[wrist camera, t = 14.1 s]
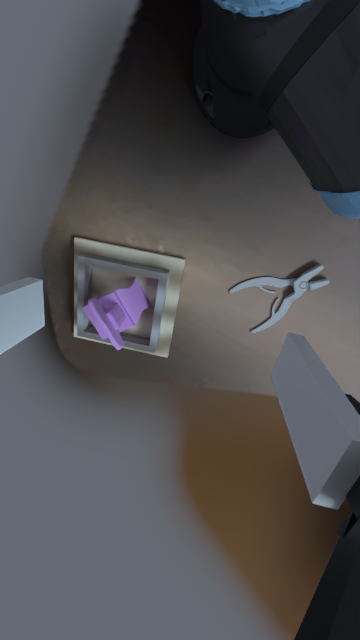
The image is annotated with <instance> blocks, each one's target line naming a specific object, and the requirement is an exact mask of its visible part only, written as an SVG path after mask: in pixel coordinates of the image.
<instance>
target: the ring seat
mask: <svg viewBox="0 0 360 640" xmlns="http://www.w3.org/2000/svg"><path fill="white" fill-rule="evenodd" d="M185 261H186V259H183V258H179V257H174V256H169V255H164V254H159V253H154V252H149V251H144V250H139V249H134V248H129V247H124V246H119V245H114V244H109V243H104V242H99V241H94V240H90V239H85V238H80V237H74V337H78V338H82V339H87V340H91V341H96V342H100V343H105V344H109V345H113V344H112V343H111V341H110V340H109V338H106V339H104V340H102V338H101V337H100V335H99V333H98V332H97V330H96V328H95V327H94V325H93V324H92V322H91V321H90V319H89V318H88V317H87V315H86V314H85V312H84V311H83V309H82V308H83V307H84V306H85V305H88V300H90V299H92V298H96V299H97V300H98V298H99V296H100V295H102V297H104V296H106V295H108V294H110V293H112V292H113V291H115V290H117V289H127V288H129V287H130V286H131V284H132V283H133V280H134V278H137V280H138V281H139V283H140V285H141V287H142V289H143V290H144V292H145V294H146V296H147V297H148V299H149V301H150V303H151V305H152V308H147V309H144V310H143V311H142V313H141V315H140V318H139V321H138V323H136V324H135V325H134V326H133V327H131V328H129V329H127V330H124V331H122V332H119V333H120V336H121V338H122V340H123V343H124V345H123V347H122V348H127V349H131V350H136V351H140V352H144V353H149V354H153V355H158V356H162V357H166V358H168V354H169V349H170V343H171V338H172V332H173V327H174V321H175V316H176V310H177V305H178V299H179V294H180V288H181V283H182V277H183V272H184V266H185Z"/></svg>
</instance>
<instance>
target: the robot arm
mask: <svg viewBox="0 0 360 640" xmlns="http://www.w3.org/2000/svg"><path fill="white" fill-rule="evenodd" d="M200 3H201V15H202V24H201V26H200V29H199V31H198V35H197V38H196V42H195V47H194V54H193V81H194V87H195V92H196V97H197V100H198V103H199V105H200V108H201V110H202V112H203V114H204V115H205V117H206V118H207V119H208V121H209V122H210V123H211V124H212V125H213V126H214V127H215V128H217V129H218V130H219V131H221V132H223V133H225V134H227V135H230V136H233V137H239V138H248V137H254V136H258V135H261V134H263V133H265V132H267V131H269V130H271V129H273V128H274V127H275V129H276V130H277V132H278V133H279V135H280V136H281V138H282V139H283V141H284V142H285V144H286V145H287V147H288V148H289V150H290V151H291V153H292V154H293V156H294V157H295V159H296V160H297V162H298V163H299V165H300V166H301V168H302V169H303V171H304V172H305V174H306V175H307V177H308V178H309V180H310V186H311V188H312V190H313V191H314V192H316V193H317V194H319V195H320V196H321V198H322V199H323V200H324V202H325V203H326V204H327V206H328V207H329V208H330V210H331V211H332V212H334V213H335V214H338V215H339V216H342V217H345V218H355V219H357V218H360V0H200ZM43 326H45V321H44V301H43V281H42V280H40V279H36V278H31V277H28V278H24V279H21V280H18V281H15V282H12V283H9V284H6V285H3V286H0V354H2V353H3V352H5V351H6V350H8V349H10V348H11V347H13V346H14V345H16V344H17V343H19V342H20V341H22V340H23V339H25V338H27V337H28V336H30V335H31V334H33V333H34V332H36V331H37V330H39V329H40V328H42V327H43ZM271 379H272V382H273V385H274V388H275V391H276V394H277V397H278V400H279V403H280V406H281V409H282V412H283V415H284V418H285V421H286V424H287V427H288V430H289V433H290V436H291V440H292V443H293V446H294V448H295V452H296V455H297V458H298V461H299V464H300V467H301V470H302V473H303V476H304V479H305V482H306V485H307V488H308V491H309V494H310V498H311V500H312V503H313V504H317V505H321V506H325V507H329V508H333V509H338V508H339V507H340V505H341V504H342V503H343V501H344V500H345V498H346V497H347V499H348V501H349V504H350V506H351V508H352V510H353V511H352V513H351V514H350V516H349V517H348V518H347V519H346V521H345V522H344V523H343V525H342V526H341V528H340V529H339V530H338V531H337V533H338V534H339V535H340V537H339V539H338V541H337V544H336V546H335V548H334V550H333V552H332V555H331V557H330V559H329V562H328V564H327V566H326V568H325V571H324V573H323V575H322V577H321V580H320V582H319V584H318V586H317V589H316V591H315V593H314V596H313V598H312V600H311V602H310V605H309V607H308V609H307V611H306V614H305V616H304V618H303V621H302V623H301V625H300V628H299V630H298V632H297V634H296V637H295V639H294V640H360V403H359V402H358V401H357V400H356V399H354V398H353V397H352V396H351V395H348V394H344V393H343V391H342V390H341V388H340V387H339V385H338V384H337V383H336V381H335V380H334V378H333V377H332V376H331V374H330V373H329V371H328V370H327V368H326V367H325V366H324V364H323V363H322V361H321V360H320V359H319V357H318V356H317V354H316V353H315V351H314V350H313V349H312V347H311V346H310V344H309V343H308V342H307V340H306V339H305V337H304V336H302V335H297V334H293V333H288V334H287V337H286V339H285V342H284V344H283V347H282V350H281V352H280V355H279V357H278V360H277V362H276V365H275V368H274V370H273V373H272V375H271Z"/></svg>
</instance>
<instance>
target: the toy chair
mask: <svg viewBox="0 0 360 640" xmlns="http://www.w3.org/2000/svg"><path fill="white" fill-rule="evenodd" d="M147 308H152V305H151V303H150V301H149V299H148V297H147V296H146V294H145V292H144V290H143V289H142V287H141V285H140V283H139V281H138V280H137V278H134V280H133V283H132V284H131V286H130V287H129V288H127V289H117V290H115V291H113V292H112V293H110V294H108V295H106V296H104V297H102V295H100V296H99V298H98V300H97V299H96V298H92V299H90V300H88V305H85V306H84V307H83V308H82V309H83V311H84V312H85V314H86V315H87V317H88V318H89V319H90V321H91V322H92V324H93V325H94V327H95V328H96V330H97V332H98V333H99V335H100V337H101V338H102V340H104V339H106V338H109V340H110V341H111V343H112V344H113V346H114V347H115V348H116V349H117V350H120V349H121V348H122V347H123V345H124V343H123V340H122V338H121V336H120V333H119V332H122V331H124V330H127V329H129V328H131V327H133V326H134V325H135V324H136V323H138V321H139V318H140V315H141V313H142V311H143V310H144V309H147Z"/></svg>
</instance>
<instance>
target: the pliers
mask: <svg viewBox="0 0 360 640" xmlns="http://www.w3.org/2000/svg"><path fill="white" fill-rule="evenodd" d="M323 268H324V267H323V266H322V265H321V264H318V265H316V266H314V267H312V268H311V269H309V270H307V271H305V272H303V273H302V274H301V275H300V276H299V277H298V278H297V279H295V278H291V279H278V278H274V277H259V278H254V279H250V280H247V281H245V282H242V283H240V284H238V285H237V286H235V287H233V288H232V289H231V290H229V292H230V293H233V292H235V291H238V290H241V289H244V288H247V287H251V286H257V287H259V288H260V289H261V290H263V291H265V292H269V293H276V291H270V290H266V289H264V288H263V287H262V286H261V285H270V286H275V287H279V288H280V287H284V286H289V285H291V286H292V287H293V288H294V292H292V293H290V294H289V295H288V296H286V297H285V298H284V300H283V302H282V304H281V306H280V307H279V309H278V311H277V312H276V313H275V312H274V309H275V305H276V303H277V302H278V300H279V298H277V299H276V301H275V302H274V304H273V307H272V315H271V318H269V319H268V320H267V321H266V322H264V323H263V324H261V325H260V326H258V327H256V328H255V329H253V330H251V332H252V333H255V332H258V331H261V330H264V329H266V328H268V327H270V326H271V325H273V324H274V323H276V322H277V321H278V320H279V319H281V318H282V317H283V316H284V315H285V313H286V312H287V311H288V309H289V307H290V305H291V303H292V302H293V301H294V300H296V299H297V298H299V297H300V296H301V295H303V292H304V291H307V290H308V291H312V290H314V289H317V288H319V287H322V286H324V285H327V284H329V280H328V279H327V278H325V279H321V280H317V281H312V282H308V280H309V279H311V278H312V277H313V276H315V275H316V274H317V273H318V272H320V271H321V270H322V269H323Z"/></svg>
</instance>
